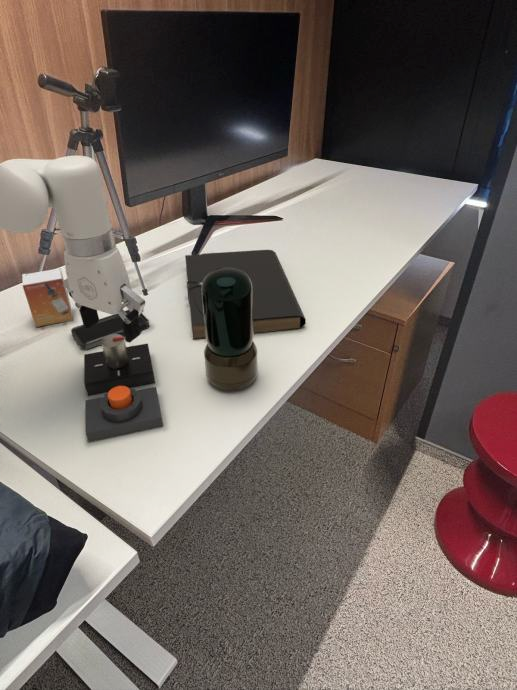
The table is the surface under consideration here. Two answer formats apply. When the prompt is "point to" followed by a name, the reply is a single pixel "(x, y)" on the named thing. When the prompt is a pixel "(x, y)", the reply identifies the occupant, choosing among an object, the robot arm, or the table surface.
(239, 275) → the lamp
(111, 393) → the button
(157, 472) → the table surface
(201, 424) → the table surface
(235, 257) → the dark brown book
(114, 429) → the button block
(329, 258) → the table surface
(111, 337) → the dial
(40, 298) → the small box
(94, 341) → the phone
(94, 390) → the dial panel
